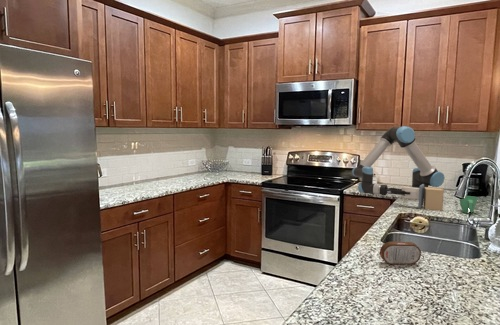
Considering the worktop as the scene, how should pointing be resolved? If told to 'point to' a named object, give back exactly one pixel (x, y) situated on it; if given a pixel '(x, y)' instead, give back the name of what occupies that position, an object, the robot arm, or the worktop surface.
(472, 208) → the mug
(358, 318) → the worktop surface
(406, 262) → the tin
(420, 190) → the flap
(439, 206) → the carton
